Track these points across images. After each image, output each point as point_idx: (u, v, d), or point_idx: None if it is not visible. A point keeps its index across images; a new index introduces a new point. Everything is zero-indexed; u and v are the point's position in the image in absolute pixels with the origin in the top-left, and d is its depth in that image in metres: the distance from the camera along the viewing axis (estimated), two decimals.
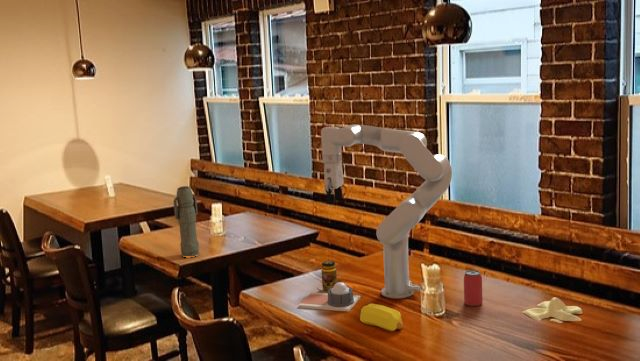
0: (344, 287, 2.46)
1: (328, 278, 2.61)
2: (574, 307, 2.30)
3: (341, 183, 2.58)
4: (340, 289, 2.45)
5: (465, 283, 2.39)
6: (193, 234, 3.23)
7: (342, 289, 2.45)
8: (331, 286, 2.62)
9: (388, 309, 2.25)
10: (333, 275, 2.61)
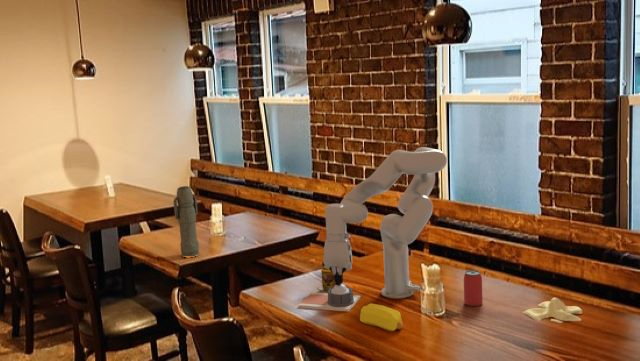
0: (344, 288, 2.46)
1: (328, 278, 2.61)
2: (574, 307, 2.30)
3: None
4: (340, 290, 2.45)
5: (465, 283, 2.39)
6: (193, 234, 3.23)
7: (342, 290, 2.45)
8: (331, 286, 2.62)
9: (388, 309, 2.25)
10: (333, 275, 2.61)
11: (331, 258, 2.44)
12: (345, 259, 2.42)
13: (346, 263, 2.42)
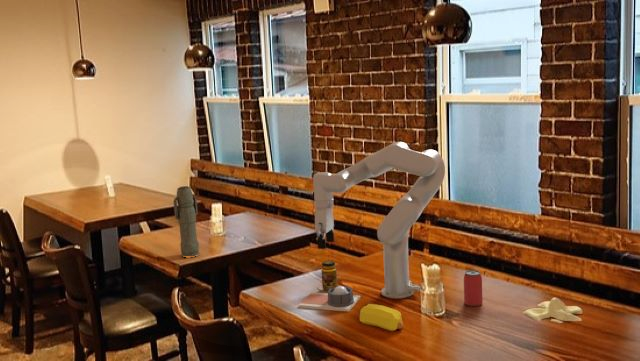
0: (344, 291, 2.46)
1: (328, 278, 2.61)
2: (574, 307, 2.30)
3: None
4: (340, 293, 2.45)
5: (465, 283, 2.39)
6: (193, 234, 3.23)
7: (342, 293, 2.46)
8: (331, 286, 2.62)
9: (388, 309, 2.25)
10: (333, 275, 2.61)
11: (329, 223, 2.59)
12: (333, 220, 2.64)
13: (333, 224, 2.65)
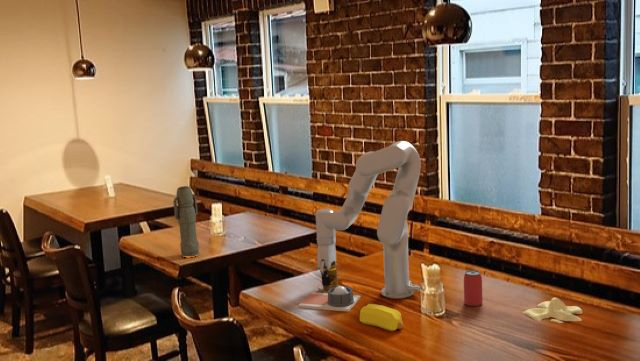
0: (344, 291, 2.46)
1: None
2: (574, 307, 2.30)
3: None
4: (340, 293, 2.45)
5: (465, 283, 2.39)
6: (193, 234, 3.23)
7: (342, 293, 2.46)
8: (331, 285, 2.63)
9: (388, 309, 2.25)
10: (333, 274, 2.62)
11: (331, 259, 2.61)
12: (335, 256, 2.67)
13: (335, 259, 2.67)
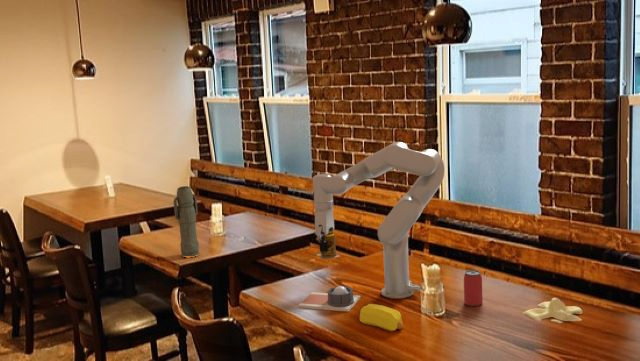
0: (344, 291, 2.46)
1: None
2: (574, 307, 2.30)
3: None
4: (340, 293, 2.45)
5: (465, 283, 2.39)
6: (193, 234, 3.23)
7: (342, 293, 2.46)
8: (329, 251, 2.59)
9: (388, 309, 2.25)
10: (331, 240, 2.59)
11: (329, 225, 2.58)
12: (333, 222, 2.63)
13: (333, 225, 2.64)
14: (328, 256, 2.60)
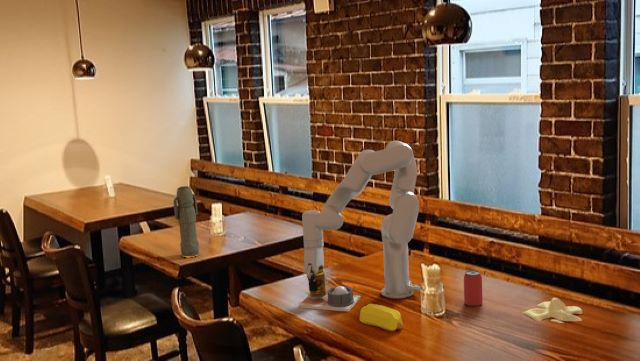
0: (344, 291, 2.46)
1: None
2: (574, 307, 2.30)
3: None
4: (340, 293, 2.45)
5: (465, 283, 2.39)
6: (193, 234, 3.23)
7: (342, 293, 2.46)
8: (319, 291, 2.49)
9: (388, 309, 2.25)
10: (320, 279, 2.49)
11: (319, 263, 2.48)
12: (323, 259, 2.53)
13: (323, 263, 2.54)
14: (317, 295, 2.50)
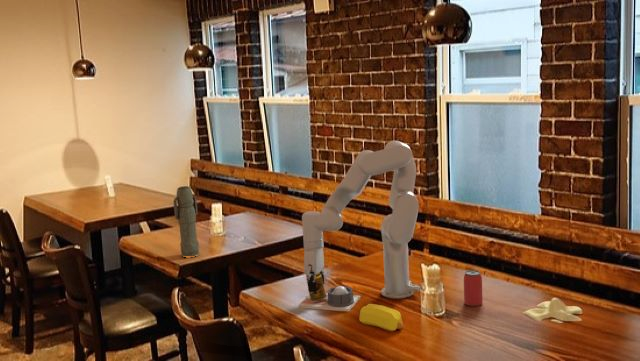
0: (344, 291, 2.46)
1: None
2: (574, 307, 2.30)
3: None
4: (340, 293, 2.45)
5: (465, 283, 2.39)
6: (193, 234, 3.23)
7: (342, 293, 2.46)
8: (318, 294, 2.49)
9: (388, 309, 2.25)
10: (318, 282, 2.49)
11: (319, 264, 2.48)
12: (323, 260, 2.53)
13: (323, 264, 2.54)
14: (317, 299, 2.50)
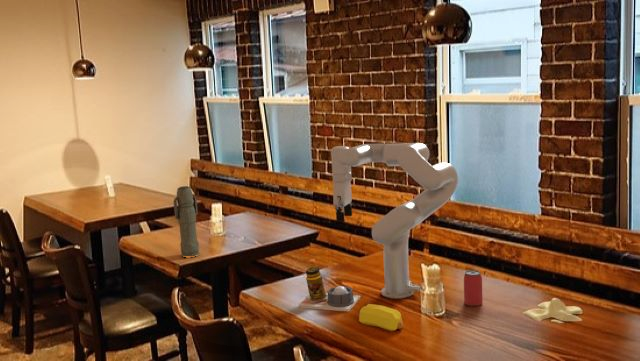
0: (344, 291, 2.46)
1: (313, 286, 2.49)
2: (574, 307, 2.30)
3: None
4: (340, 293, 2.45)
5: (465, 283, 2.39)
6: (193, 234, 3.23)
7: (342, 293, 2.46)
8: (318, 294, 2.49)
9: (388, 309, 2.25)
10: (318, 283, 2.49)
11: (347, 196, 2.60)
12: (351, 194, 2.66)
13: (351, 197, 2.66)
14: (317, 299, 2.50)
